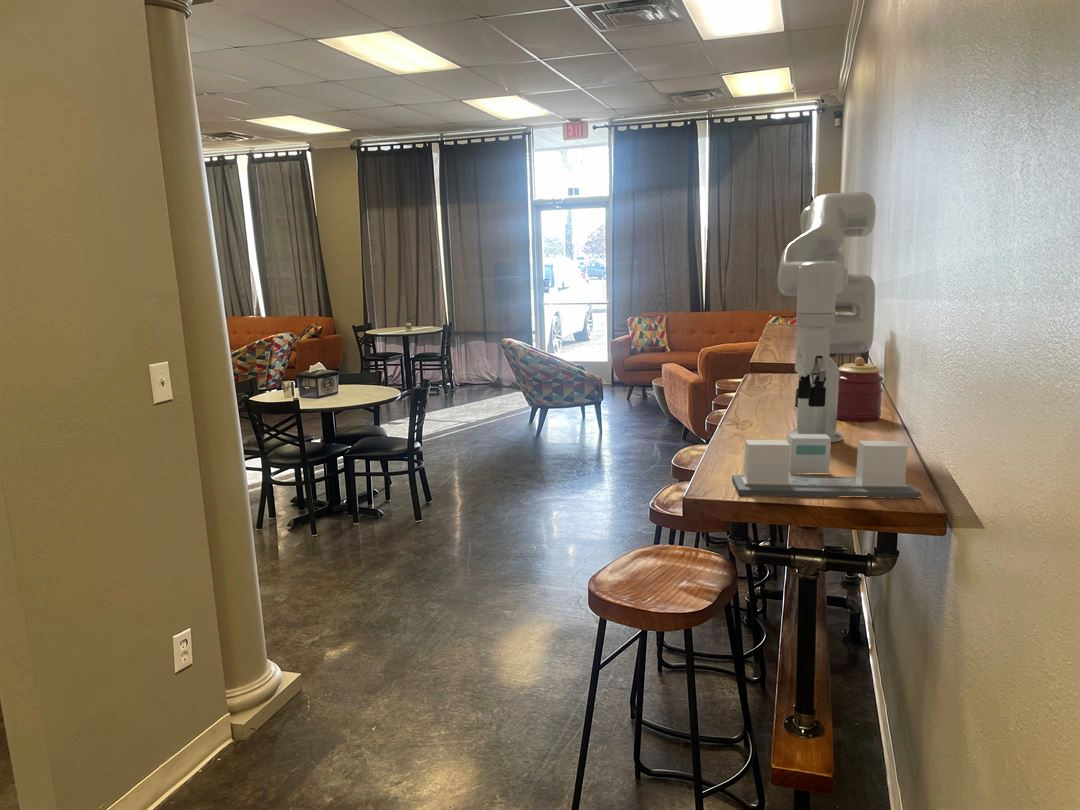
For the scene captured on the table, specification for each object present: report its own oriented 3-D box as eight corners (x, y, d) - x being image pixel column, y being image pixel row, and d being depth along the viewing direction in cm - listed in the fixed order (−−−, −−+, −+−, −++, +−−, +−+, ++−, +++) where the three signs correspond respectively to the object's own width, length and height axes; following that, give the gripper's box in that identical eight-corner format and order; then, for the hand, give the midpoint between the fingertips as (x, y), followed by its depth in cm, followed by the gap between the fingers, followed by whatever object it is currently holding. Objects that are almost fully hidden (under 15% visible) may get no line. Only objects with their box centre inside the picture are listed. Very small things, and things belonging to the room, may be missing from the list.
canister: (875, 414, 214) (880, 354, 211) (885, 423, 202) (889, 360, 198) (828, 412, 217) (832, 354, 214) (835, 422, 205) (838, 359, 202)
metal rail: (741, 478, 150) (741, 476, 150) (899, 481, 146) (899, 479, 146) (744, 485, 146) (744, 484, 145) (908, 488, 142) (908, 486, 141)
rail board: (732, 480, 153) (732, 475, 153) (902, 483, 149) (902, 477, 149) (738, 495, 144) (738, 489, 143) (920, 498, 139) (921, 492, 139)
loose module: (786, 469, 161) (788, 433, 159) (824, 469, 160) (826, 434, 158) (790, 474, 157) (792, 438, 155) (829, 475, 156) (831, 438, 154)
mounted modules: (744, 477, 150) (745, 439, 148) (897, 479, 146) (900, 441, 144) (747, 483, 146) (748, 444, 144) (904, 485, 142) (907, 446, 140)
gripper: (787, 319, 161) (784, 395, 164) (806, 324, 144) (801, 409, 147) (823, 319, 160) (819, 395, 163) (845, 324, 143) (840, 409, 146)
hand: (810, 402), depth 155 cm, fingers open, 9 cm apart
